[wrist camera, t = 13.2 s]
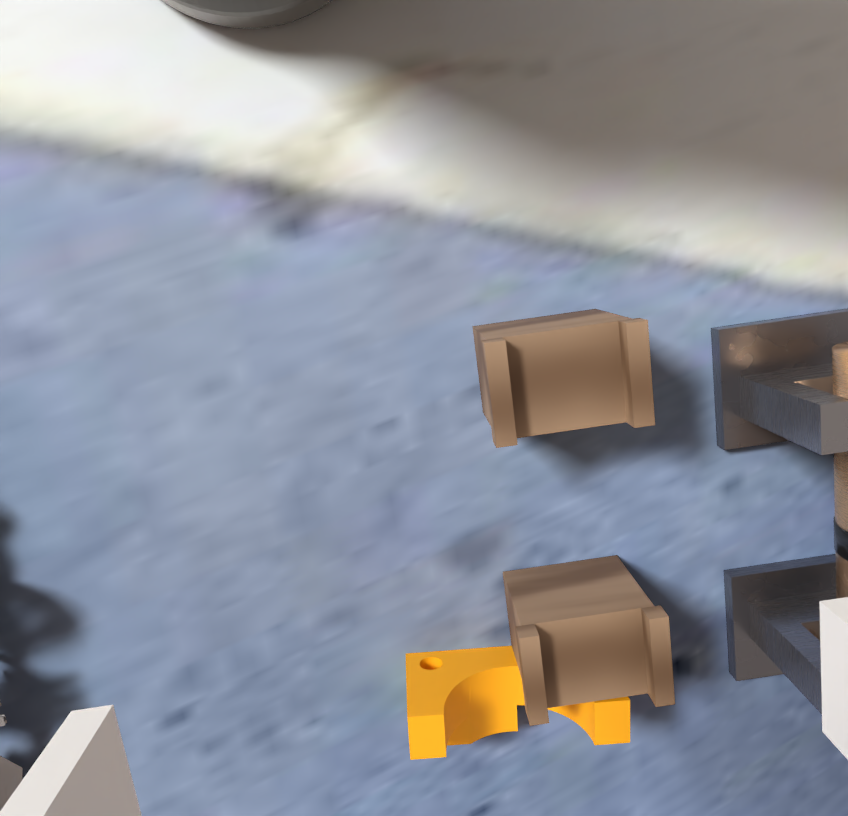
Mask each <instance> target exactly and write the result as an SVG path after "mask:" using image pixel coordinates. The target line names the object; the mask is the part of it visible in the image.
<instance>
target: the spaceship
mask: <svg viewBox="0 0 848 816" xmlns="http://www.w3.org/2000/svg"><path fill="white" fill-rule="evenodd" d="M1 705H2V704H1V701H0V706H1ZM5 723H7V720H6V717H5V715H0V726H5ZM22 772H23V768H22V767H20V766H18V765H16V764H15V763H13V762H11V761H9V760H7V759H5V758H3V757H2V756H0V811H1V809H2V808H3V807H4V805H5V804H6V802H7V801H8V800H9V798H10V797H11V795H12V794H13V793H14V791H15V790H16V788H17V787H18V785H19V784H20V783H21V781H22Z"/></svg>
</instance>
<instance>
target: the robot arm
mask: <svg viewBox="0 0 848 816" xmlns="http://www.w3.org/2000/svg"><path fill="white" fill-rule="evenodd" d="M162 1H163V2H165V3H166V4H168V5H169V6H171V7H173V8H175V9H176V10H178V11H180V12H182V13H184V14H186V15H188V16H191V17H193V18H196V19H198V20H201V21H205V22H208V23H211V24H215V25H220V26H225V27H232V28H265V27H271V26H277V25H281V24H285V23H289V22H292V21H295V20H297V19H300V18H302V17H305V16H307V15H309V14H311V13H313V12H315V11H316V10H318V9H320V8H322V7H323V6H325V5H326V4H328V3H329V2H330V1H332V0H162ZM819 604H820V648H821V692H822V732H823V733H824V734H825V735H826V736H827V737H828V738H829V739H830V741H831V742H832V743H833V744H834V745H835V746H836V747H837V748H838V749H839V751H840V752H841V753H842V754H843V755H844V756H845V757H846V758H847V759H848V597H844V598H838V599H831V600H824V601H819ZM0 816H141V812H140V808H139V804H138V800H137V796H136V792H135V788H134V784H133V781H132V777H131V773H130V769H129V765H128V761H127V757H126V753H125V749H124V746H123V742H122V738H121V734H120V730H119V726H118V722H117V718H116V714H115V710H114V707H113V705H108V706H102V707H95V708H88V709H81V710H74V711H71V712H70V714H69V715H68V716H67V718H66V719H65V721H64V722H63V723H62V725H61V726H60V728H59V729H58V730H57V732H56V733H55V735H54V736H53V738H52V739H51V740H50V742H49V743H48V745H47V746H46V747H45V749H44V750H43V752H42V753H41V754H40V756H39V757H38V759H37V760H36V761H35V763H34V764H33V766H32V767H31V769H30V770H29V771H28V773H27V774H26V776H25V777H24V778H23V780H22V781H21V783H20V784H19V785H18V787H17V788H16V790H15V791H14V793H13V794H12V795H11V797H10V798H9V800H8V801H7V802H6V804H5V805H4V807H3V808H2V809H1V811H0Z"/></svg>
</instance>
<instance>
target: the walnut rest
mask: <svg viewBox="0 0 848 816" xmlns="http://www.w3.org/2000/svg"><path fill="white" fill-rule="evenodd" d="M473 334H474V342H475V350H476V358H477V366H478V374H479V383H480V391H481V399H482V407H483V413H484V415H485V416H486V418H487V420H488V422H489V424H490V425H491V428H492V436H493V442H494V444H495V446H496V448H499V447H506V446H513V445H517V438H521V437H528V436H535V435H542V434H549V433H555V432H562V431H569V430H576V429H583V428H590V427H597V426H604V425H611V424H618V423H625V422H627V423H628V424H629V425H631V426H632V427H634V428H638V427H645V426H652V425H655V416H654V402H653V388H652V374H651V360H650V346H649V332H648V320H645V319H641V318H635V319H631V318H628V317H624V316H620V315H616V314H613V313H609V312H605V311H601V310H597V309H592V310H585V311H578V312H571V313H564V314H557V315H550V316H542V317H535V318H528V319H521V320H514V321H507V322H500V323H493V324H486V325H479V326H473ZM503 578H504V586H505V594H506V603H507V611H508V619H509V627H510V635H511V643H512V648H513V652H514V655H515V658H516V661H517V665H518V668H519V671H520V675H521V678H522V685H523V693H524V701H525V709H526V714H527V717H528V721H529V724H530V726H532V725H539V724H545V723H549V718H548V709H547V708H552V707H559V706H566V705H573V704H579V703H586V702H593V701H600V700H606V699H613V698H620V697H627V696H634V695H640V694H647V693H648V694H649V696H650V698H651V699H652V701H653V703H654V705H655V706H656V707H660V706H667V705H674V704H675V697H674V683H673V669H672V654H671V640H670V626H669V616H668V615H667V614H666V612H665V611H664V610H663V608H662V607H661V606H660V605H659V606H654V605H653V603H652V602H651V601H650V599H649V598H648V597H647V595H646V594H645V593H644V591H643V590H642V589H641V587H640V586H639V585H638V583H637V582H636V581H635V579H634V578H633V577H632V575H631V574H630V572H629V571H628V570H627V568H626V567H625V566H624V564H623V563H622V562H621V560H620V559H619V558H618V556H617V555H615V556H609V557H602V558H595V559H588V560H581V561H574V562H567V563H560V564H554V565H547V566H540V567H533V568H526V569H519V570H512V571H505V572H503Z"/></svg>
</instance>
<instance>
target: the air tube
mask: <svg viewBox="0 0 848 816" xmlns="http://www.w3.org/2000/svg"><path fill="white" fill-rule="evenodd" d="M832 379H833V394H834V395H837V396H840V397H844V398H847V399H848V341H846V342H842V343H839V344H836V345H834V346H833V347H832ZM834 493H835V516H834V548H835V551H836V599H838V598H844V597H848V451H847V452H840V453H834Z"/></svg>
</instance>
